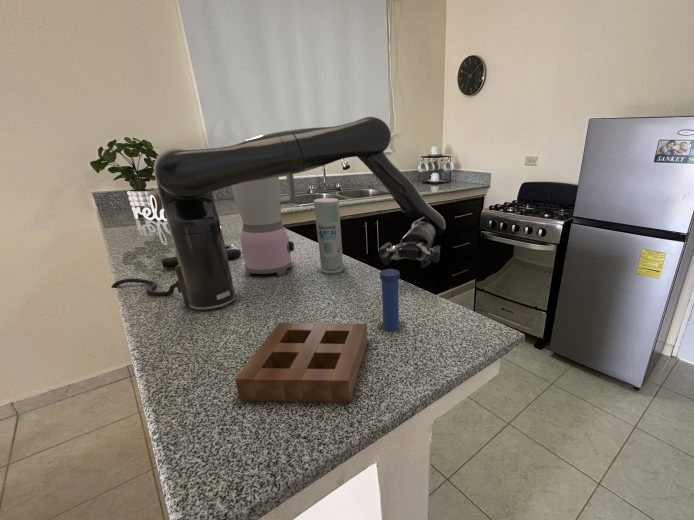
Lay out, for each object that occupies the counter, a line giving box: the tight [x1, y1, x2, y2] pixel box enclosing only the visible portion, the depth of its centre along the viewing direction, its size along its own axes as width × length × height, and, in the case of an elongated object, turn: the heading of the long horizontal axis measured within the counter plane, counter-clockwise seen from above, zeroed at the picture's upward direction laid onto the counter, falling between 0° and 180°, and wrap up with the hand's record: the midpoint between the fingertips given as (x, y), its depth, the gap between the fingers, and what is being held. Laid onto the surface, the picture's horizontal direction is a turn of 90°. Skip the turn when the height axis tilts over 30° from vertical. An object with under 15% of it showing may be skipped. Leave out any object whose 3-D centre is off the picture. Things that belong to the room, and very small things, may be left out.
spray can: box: [313, 197, 344, 274], centre depth 97 cm, size 6×6×20 cm
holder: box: [234, 322, 368, 403], centre depth 58 cm, size 16×16×4 cm
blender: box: [231, 174, 296, 276], centre depth 94 cm, size 16×12×32 cm
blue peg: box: [379, 268, 401, 332], centre depth 69 cm, size 4×4×12 cm
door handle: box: [160, 243, 242, 269], centre depth 107 cm, size 3×20×16 cm
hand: (403, 262), depth 78 cm, fingers open, 8 cm apart
